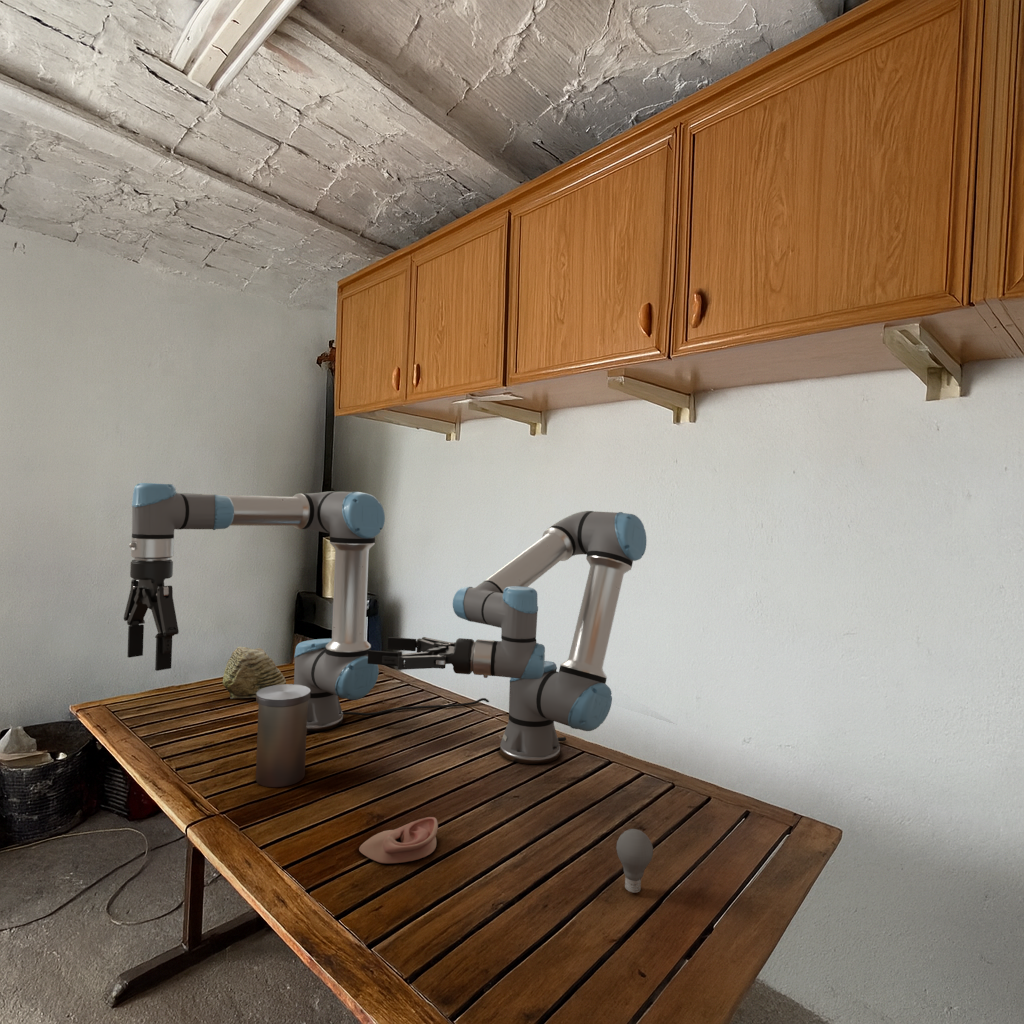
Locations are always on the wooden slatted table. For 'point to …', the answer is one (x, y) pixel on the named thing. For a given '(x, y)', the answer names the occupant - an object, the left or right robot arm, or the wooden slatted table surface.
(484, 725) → the wooden slatted table surface
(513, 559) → the right robot arm
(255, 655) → the fossil
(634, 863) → the light bulb
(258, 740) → the jar
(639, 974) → the wooden slatted table surface
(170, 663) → the left robot arm
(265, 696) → the lid
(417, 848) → the anatomical model
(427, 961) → the wooden slatted table surface
